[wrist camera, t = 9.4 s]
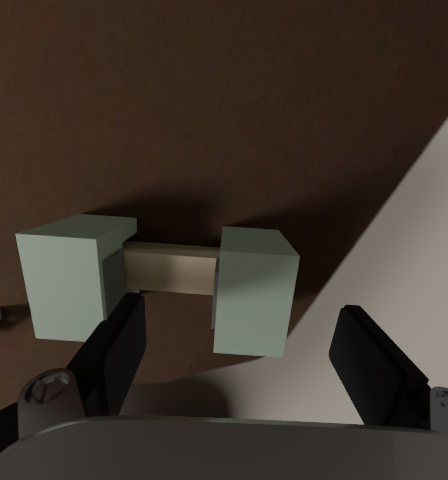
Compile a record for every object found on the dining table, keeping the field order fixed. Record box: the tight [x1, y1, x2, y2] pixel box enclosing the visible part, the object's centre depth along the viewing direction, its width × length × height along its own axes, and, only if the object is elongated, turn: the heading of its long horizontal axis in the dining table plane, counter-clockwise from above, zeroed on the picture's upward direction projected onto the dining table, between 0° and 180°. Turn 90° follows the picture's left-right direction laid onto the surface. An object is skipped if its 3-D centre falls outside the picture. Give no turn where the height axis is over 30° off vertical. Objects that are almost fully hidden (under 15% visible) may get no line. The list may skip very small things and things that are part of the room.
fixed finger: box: [16, 214, 140, 342], centre depth 17 cm, size 7×5×6 cm
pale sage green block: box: [211, 226, 300, 357], centre depth 17 cm, size 7×5×6 cm
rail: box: [122, 241, 220, 295], centre depth 19 cm, size 3×15×2 cm, turn 86°
